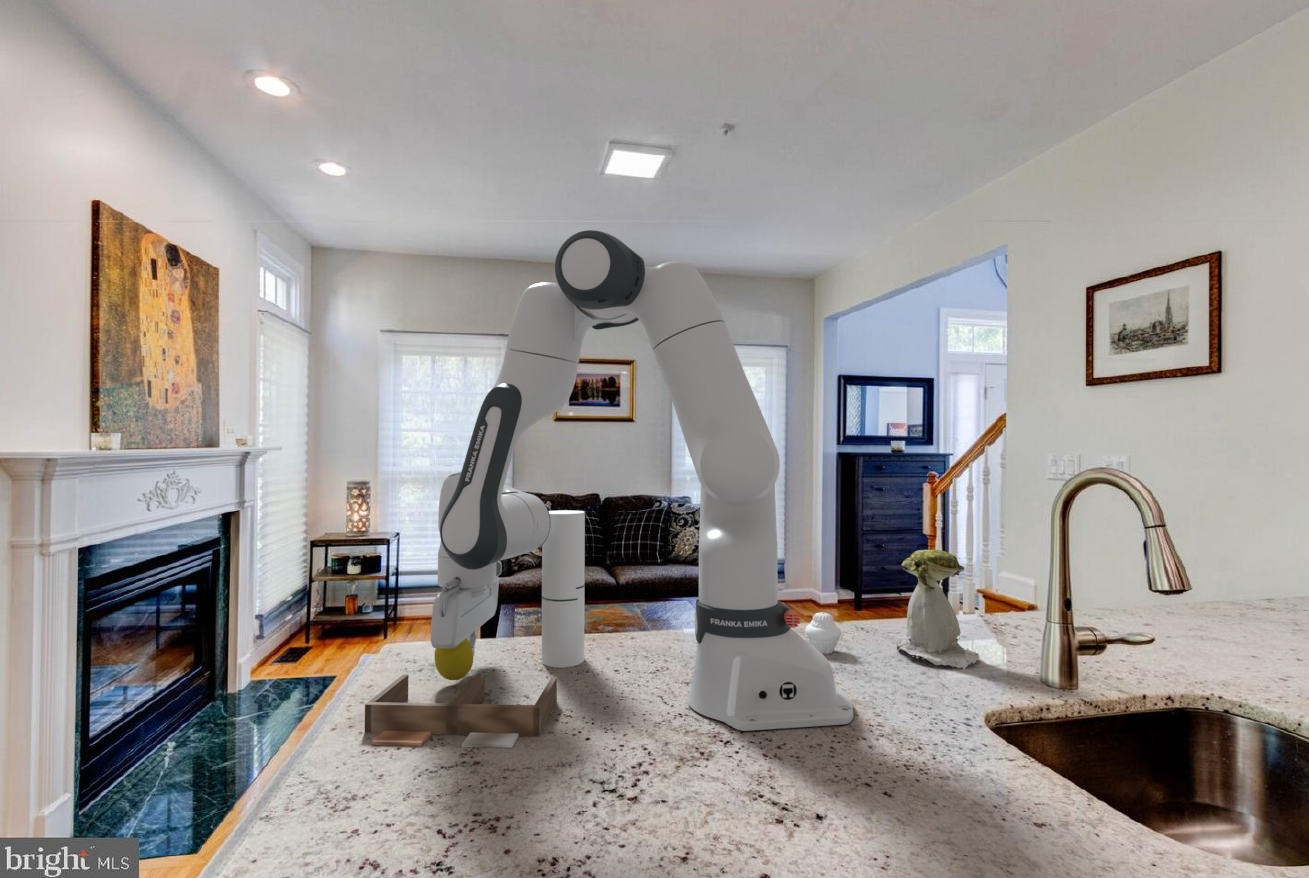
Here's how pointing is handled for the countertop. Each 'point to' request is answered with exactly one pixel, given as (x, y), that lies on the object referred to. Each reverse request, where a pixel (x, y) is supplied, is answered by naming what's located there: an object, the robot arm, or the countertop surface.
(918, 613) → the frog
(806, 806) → the countertop surface
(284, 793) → the countertop surface
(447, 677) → the lemon
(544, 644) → the cylindrical container
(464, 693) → the bay rack
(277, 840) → the countertop surface
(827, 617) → the muffin
